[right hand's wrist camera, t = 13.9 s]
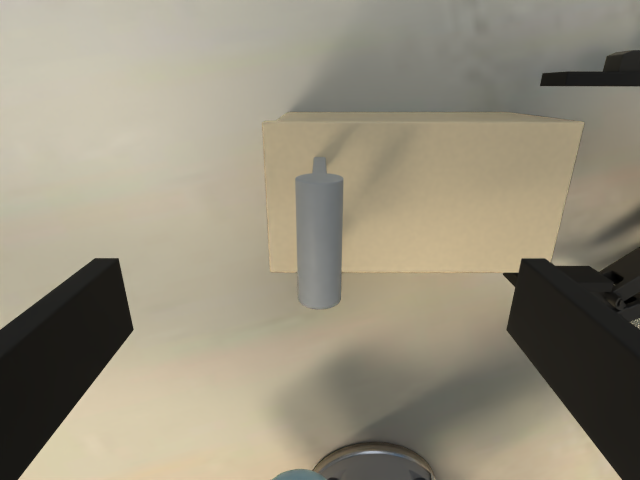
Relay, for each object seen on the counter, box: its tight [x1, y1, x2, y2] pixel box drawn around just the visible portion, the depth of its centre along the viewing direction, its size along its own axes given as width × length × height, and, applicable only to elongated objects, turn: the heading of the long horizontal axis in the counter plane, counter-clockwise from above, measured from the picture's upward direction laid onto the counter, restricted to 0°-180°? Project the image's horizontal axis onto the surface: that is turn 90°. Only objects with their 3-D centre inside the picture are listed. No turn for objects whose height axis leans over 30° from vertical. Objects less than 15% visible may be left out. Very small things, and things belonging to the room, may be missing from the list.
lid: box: [262, 121, 584, 309], centre depth 20 cm, size 18×9×8 cm, turn 90°
